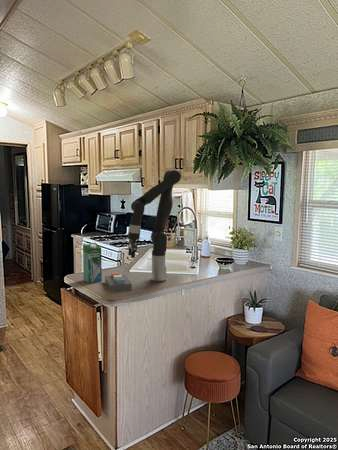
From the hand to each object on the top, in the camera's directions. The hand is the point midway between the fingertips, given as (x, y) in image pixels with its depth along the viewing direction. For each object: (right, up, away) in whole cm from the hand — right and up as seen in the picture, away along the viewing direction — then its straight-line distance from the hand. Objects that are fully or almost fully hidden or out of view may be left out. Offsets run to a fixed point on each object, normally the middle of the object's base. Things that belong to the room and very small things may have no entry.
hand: (131, 256), depth 214 cm
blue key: (-6, -16, -12) cm, 20 cm away
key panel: (-8, -18, -4) cm, 20 cm away
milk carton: (-27, -17, +6) cm, 32 cm away
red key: (-10, -14, +2) cm, 17 cm away
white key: (-8, -15, -5) cm, 17 cm away
